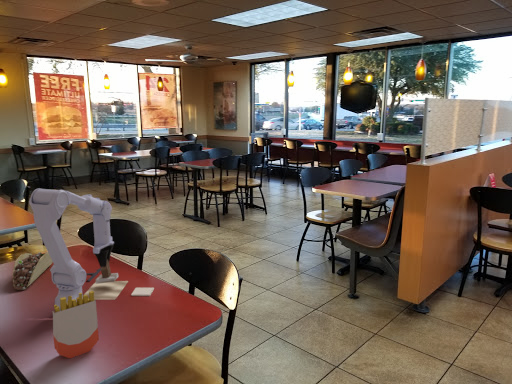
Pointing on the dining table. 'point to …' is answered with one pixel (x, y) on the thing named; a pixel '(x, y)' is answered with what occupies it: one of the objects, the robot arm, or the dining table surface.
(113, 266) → the dining table surface
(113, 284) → the board
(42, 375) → the dining table surface
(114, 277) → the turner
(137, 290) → the tile
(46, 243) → the robot arm
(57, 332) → the french fries container
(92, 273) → the bracket
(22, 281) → the taco
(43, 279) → the dining table surface
